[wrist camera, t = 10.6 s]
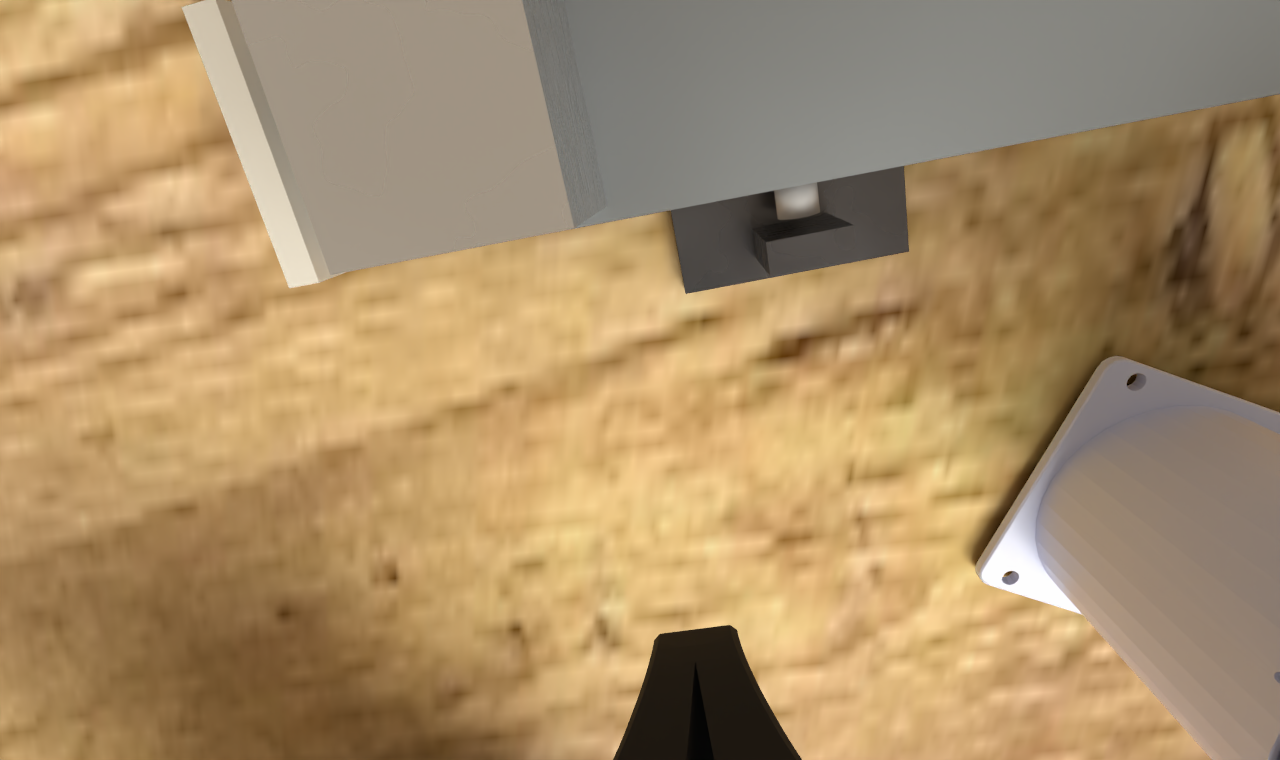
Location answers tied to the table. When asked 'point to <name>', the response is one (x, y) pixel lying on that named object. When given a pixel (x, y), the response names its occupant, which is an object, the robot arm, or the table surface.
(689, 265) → the pivot stand
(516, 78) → the steel weight
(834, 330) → the table surface
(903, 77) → the seesaw beam
